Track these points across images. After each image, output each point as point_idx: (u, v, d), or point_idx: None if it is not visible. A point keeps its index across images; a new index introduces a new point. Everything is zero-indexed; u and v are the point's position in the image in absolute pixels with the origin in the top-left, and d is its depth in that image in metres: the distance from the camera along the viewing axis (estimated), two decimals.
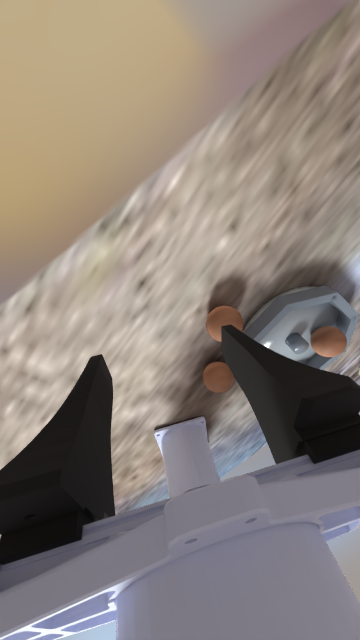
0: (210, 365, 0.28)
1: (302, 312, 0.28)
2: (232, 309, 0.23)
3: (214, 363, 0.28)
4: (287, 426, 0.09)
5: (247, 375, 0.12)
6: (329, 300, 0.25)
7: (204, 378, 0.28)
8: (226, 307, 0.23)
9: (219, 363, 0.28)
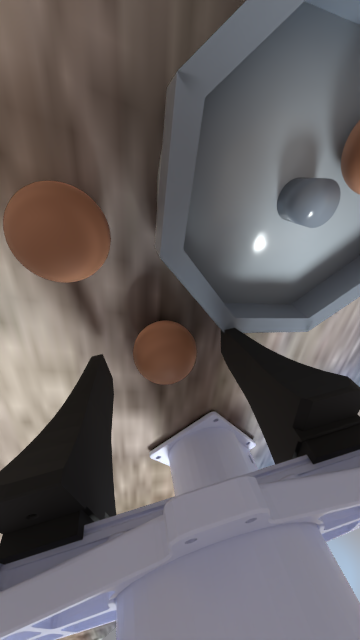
0: None
1: (279, 105, 0.10)
2: (35, 183, 0.08)
3: (144, 328, 0.14)
4: (286, 426, 0.09)
5: (246, 375, 0.12)
6: None
7: None
8: None
9: (150, 326, 0.13)
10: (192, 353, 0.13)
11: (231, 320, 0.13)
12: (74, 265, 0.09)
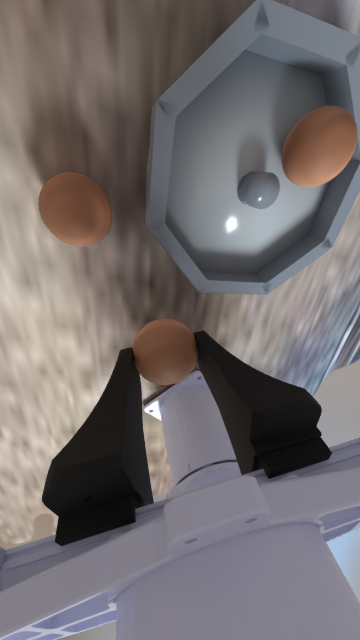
0: (136, 335, 0.13)
1: (233, 119, 0.13)
2: (61, 173, 0.12)
3: None
4: (245, 438, 0.09)
5: (215, 383, 0.12)
6: (253, 34, 0.10)
7: None
8: None
9: (150, 324, 0.13)
10: (194, 352, 0.12)
11: (204, 281, 0.17)
12: (87, 231, 0.12)
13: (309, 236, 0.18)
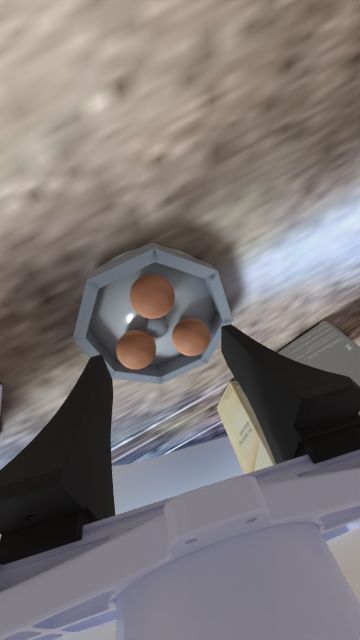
0: (133, 331, 0.22)
1: (176, 286, 0.22)
2: (168, 282, 0.19)
3: (139, 330, 0.22)
4: (287, 426, 0.09)
5: (247, 375, 0.12)
6: (206, 276, 0.20)
7: (120, 344, 0.21)
8: (163, 277, 0.19)
9: (145, 332, 0.22)
10: (151, 361, 0.23)
11: (82, 336, 0.20)
12: (152, 315, 0.19)
13: (157, 367, 0.27)
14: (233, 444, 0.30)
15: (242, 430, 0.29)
